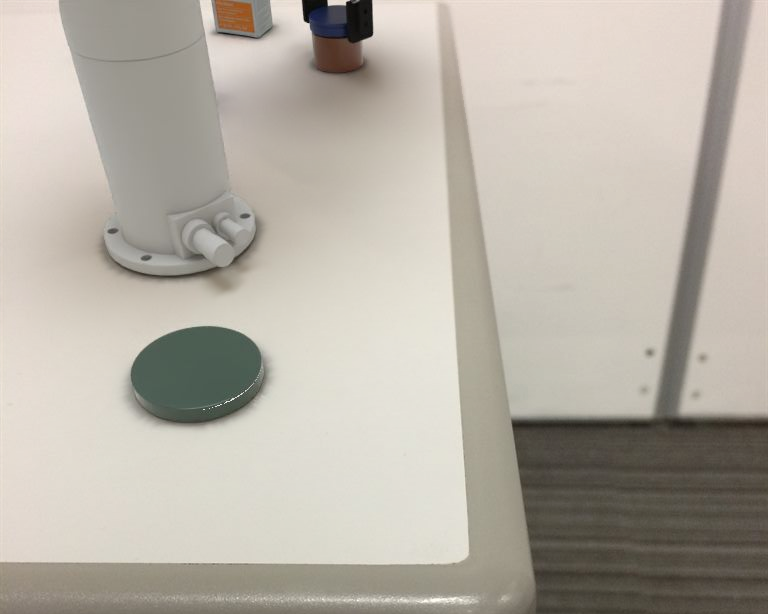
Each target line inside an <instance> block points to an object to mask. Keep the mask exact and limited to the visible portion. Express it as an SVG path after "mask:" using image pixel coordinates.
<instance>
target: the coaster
mask: <svg viewBox="0 0 768 614" xmlns="http://www.w3.org/2000/svg"><path fill="white" fill-rule="evenodd" d="M261 367H262V368H261ZM260 370H261V371H260ZM264 370H265V369H264V363H263V357H262V353H261V350H260V348H259V347H258V346H257V344H256V343H255V341H253V339H251V338H250V337H248V336H247V335H246V334H244V333H242V332H241V331H237V330H235V329H232V328H229V327H223V326H217V325H199V326H191V327H185V328H181V329H177V330H174V331H171V332H169V333H166V334H164V335H161V336H160V337H158V338H156V339H154V340H153V341H151V342H150V343H148V344H147V345H146V346H145V347H144V348H143V349H142V350H141V351H140V352H139V353H137V355H136V357H135V359H134V360H133V363H132V365H131V368H130V374H129V375H130V382H131V385H132V388H133V391H134V395H135V398H136V400H137V401H138V403H139V404H140V405H141V407H143V408H144V409H145V410H146V411H147V412H149V413H150V414H152V415H154V416H156V417H158V418H161V419H164V420H167V421H171V422H178V423H198V422H199V423H200V422H207V421H210V420H215V419H219V418H222V417H225V416H227V415H230V414H231V413H233V412H236V411H237V410H239V409H241V408H243V406H245V405H246V404H248V403H249V402H250V401H251V400H252V399H253V398H254V397H255V395H257V393H258V392H259V391H260V389H261V387H262V384H263V381H264V375H265V373H264V372H265V371H264ZM259 373H260V374H259ZM258 375H259V376H258ZM257 377H258V378H257ZM256 379H257V380H256ZM255 380H256V381H255ZM253 383H254V384H253ZM252 384H253V385H252ZM251 385H252V386H251ZM250 386H251V387H250ZM249 387H250V388H249ZM248 388H249V389H248ZM247 389H248V390H247ZM245 390H247V391H246V392H245ZM243 392H244V393H243ZM241 393H243V394H242V395H240V394H241ZM238 395H240V396H239V397H237V396H238ZM235 397H237V398H235ZM232 398H235V399H234V400H232V401H230V400H231V399H232ZM226 401H230V402H227V403H225V402H226ZM224 403H225V404H224ZM220 404H222V405H220ZM217 405H220V406H217ZM215 406H217V407H215ZM212 407H213V408H212ZM209 408H210V409H209ZM203 409H205V410H203Z"/></svg>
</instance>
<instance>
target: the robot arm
mask: <svg viewBox="0 0 768 614" xmlns="http://www.w3.org/2000/svg"><path fill="white" fill-rule="evenodd" d="M345 5H346V18H347V37H348V41H349V42H350V43H356V42H359V41H362V42H363V41H364V40H367V39H371V38H372V37H373V36H374V10H373V9H374V7H373V5H374V3H373V0H347V1H345ZM324 6H329V0H301V7H302V8H301V9H302V18H303V19H302V20H303V22H304V23H306V24H309V14H310V12H312V11H313V10H315V9H317V8H320V7H324ZM58 10H59V16H60V19H61V20H60V21H61V25H62V29H63V32H64V36H65V40H66V43H67V46H68V49H69V51H70V55H71V59H72V62H73V66H74V70H75V73H76V76H77V80H78V84H79V87H80V91H81V94H82V98H83V101H84V104H85V107H86V111H87V115H88V118H89V122H90V125H91V128H92V132H93V136H94V139H95V142H96V147H97V150H98V153H99V156H100V160H101V162H102V163H101V164H102V167H103V170H104V174H105V177H106V181H107V185H108V188H109V191H110V195H111V198H112V201H113V205H114V208H115V209H114V210H115V212H114V213H113V214H112V215H111V217H110V218H109V219H108V220H107V222H106V224H105V227H104V229H103V239H104V243H105V246H106V249H107V252H108V254H109V256H110V257H111V259H113V260H114V261H115V262H116V263H118V264H119V265H121V266H122V267H124V268H127V269H129V270H131V271H133V272H137V273H141V274H146V275H151V276H152V275H153V276H163V277H164V276H182V275H190V274H196V273H200V272H204V271H208V270H211V269H213V268H216V267H219V268H226V267H228V266H230V265H231V264H232V263H233V261H234V258H236V257H238V256H239V255H241V254H242V253H243V252H244V251H245V250H246V249H247V248H248V247H249V246H250V244H251V243H252V241H253V240H254V239H255V235H256V232H257V225H256V224H257V223H256V219H255V213H254V210H253V208H251V207H252V206H250V204H249V203H248V202H246V201H245V200H244V199H243V198H241V197H239V196H238V195H236V194H234V193H233V191H232V186H231V184H232V183H231V179H230V173H229V168H228V161H227V156H226V150H225V143H224V138H223V137H224V136H223V133H222V125H221V119H220V113H219V108H218V107H219V106H218V101H217V96H216V91H215V83H214V78H213V72H212V66H211V59H210V55H209V49H208V42H207V37H206V36H207V35H206V30H205V26H204V20H203V13H202V6H201V2H200V0H58Z"/></svg>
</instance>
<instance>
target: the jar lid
mask: <svg viewBox="0 0 768 614" xmlns="http://www.w3.org/2000/svg"><path fill="white" fill-rule="evenodd" d="M308 24H309V30H310V32H311V33H312V32H313V33H315V34H317V35H320V36H325V37H343V36H347V18H346V4H331V5H328V6H324V7H320V8H317V9H315V10H313V11H312V12H310V14H309V23H308Z"/></svg>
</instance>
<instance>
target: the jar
mask: <svg viewBox="0 0 768 614" xmlns="http://www.w3.org/2000/svg"><path fill="white" fill-rule="evenodd" d="M311 42H312V53H313V66H314V67H315V68H316V69H317V70H320V71H322V72H326V73H335V74H336V73H337V74H338V73H340V74H341V73H348V72H352V71H355V70H357V69H359V68H361V67H362V65H363V64H364V52H363V51H364V49H363V40H362V41H359V42H356V43H350V42H349V41H348V37H347V36H343V37H325V36H320V35H317V34H315V33H313V32H312V31H311Z"/></svg>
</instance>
